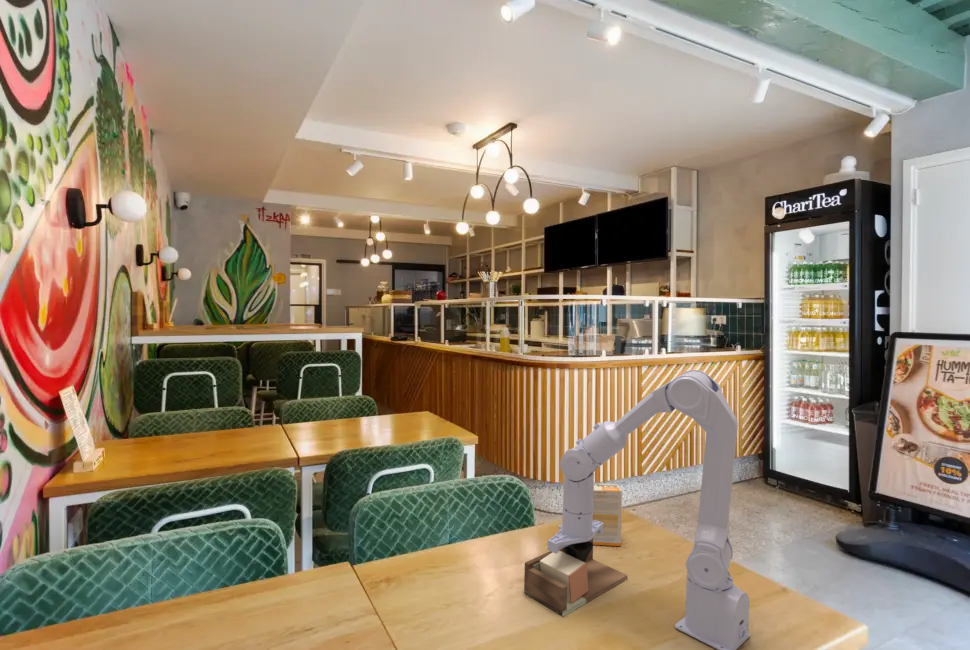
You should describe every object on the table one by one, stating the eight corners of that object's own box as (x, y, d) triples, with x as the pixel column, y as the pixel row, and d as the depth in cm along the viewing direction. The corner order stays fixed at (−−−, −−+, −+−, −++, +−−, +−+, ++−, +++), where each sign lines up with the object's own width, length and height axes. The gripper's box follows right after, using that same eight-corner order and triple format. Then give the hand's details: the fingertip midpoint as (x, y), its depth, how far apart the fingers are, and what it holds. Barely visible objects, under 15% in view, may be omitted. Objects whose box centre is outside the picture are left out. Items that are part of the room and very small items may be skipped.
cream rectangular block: (588, 590, 98) (586, 563, 98) (571, 603, 95) (569, 575, 94) (558, 575, 104) (556, 549, 103) (541, 587, 100) (539, 560, 100)
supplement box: (617, 538, 124) (619, 483, 124) (620, 547, 119) (622, 490, 119) (582, 536, 125) (583, 481, 125) (584, 545, 120) (585, 488, 120)
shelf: (627, 579, 105) (628, 549, 105) (563, 616, 92) (563, 583, 92) (588, 561, 113) (589, 533, 112) (524, 593, 99) (524, 562, 99)
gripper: (584, 494, 108) (582, 558, 109) (536, 511, 99) (534, 581, 99) (613, 504, 103) (610, 572, 104) (565, 523, 93) (562, 597, 94)
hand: (575, 577), depth 101 cm, fingers closed, pressing on cream rectangular block
